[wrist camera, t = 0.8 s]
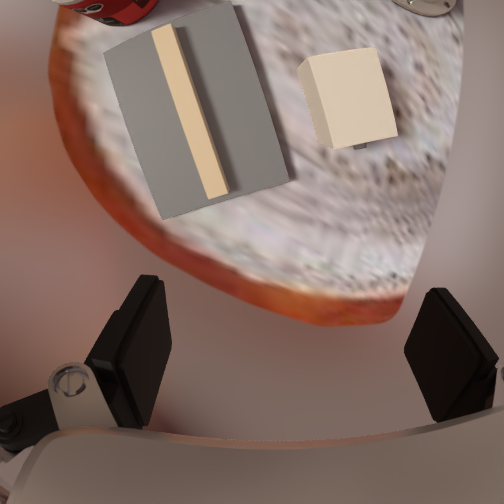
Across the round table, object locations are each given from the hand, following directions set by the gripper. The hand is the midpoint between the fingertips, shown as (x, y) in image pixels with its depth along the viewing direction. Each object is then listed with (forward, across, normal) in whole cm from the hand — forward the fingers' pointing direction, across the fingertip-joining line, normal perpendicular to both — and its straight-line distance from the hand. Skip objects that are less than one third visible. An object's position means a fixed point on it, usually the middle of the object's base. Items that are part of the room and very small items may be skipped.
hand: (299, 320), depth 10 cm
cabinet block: (+24, -6, -8) cm, 26 cm away
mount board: (+24, +8, -7) cm, 26 cm away
